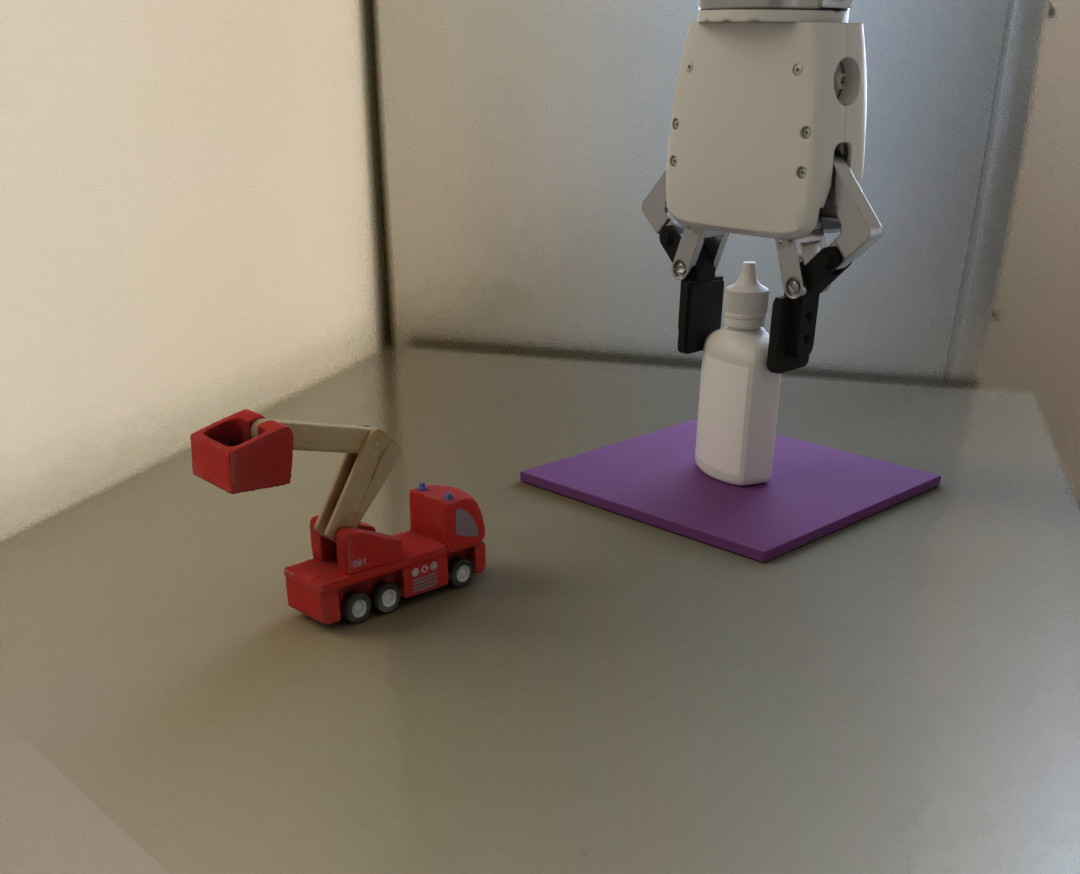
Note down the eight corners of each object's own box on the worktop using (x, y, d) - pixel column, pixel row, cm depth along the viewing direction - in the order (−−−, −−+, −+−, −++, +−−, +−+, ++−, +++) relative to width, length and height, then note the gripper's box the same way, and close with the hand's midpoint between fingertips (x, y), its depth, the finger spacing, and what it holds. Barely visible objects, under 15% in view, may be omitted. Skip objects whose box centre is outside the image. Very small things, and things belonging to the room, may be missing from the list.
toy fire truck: (495, 577, 59) (493, 380, 54) (253, 660, 51) (225, 438, 46) (452, 558, 61) (447, 367, 56) (214, 635, 53) (183, 420, 48)
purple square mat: (705, 423, 83) (706, 415, 83) (940, 484, 72) (941, 475, 72) (519, 480, 72) (519, 471, 72) (763, 563, 61) (764, 552, 61)
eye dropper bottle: (696, 487, 69) (711, 270, 64) (694, 457, 74) (708, 253, 68) (772, 489, 69) (794, 271, 63) (764, 459, 74) (785, 254, 68)
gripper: (971, -11, 56) (909, 375, 65) (688, -5, 67) (668, 327, 76) (887, -17, 52) (833, 400, 61) (597, -9, 62) (587, 344, 71)
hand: (741, 356), depth 68 cm, fingers closed on eye dropper bottle, 5 cm apart
